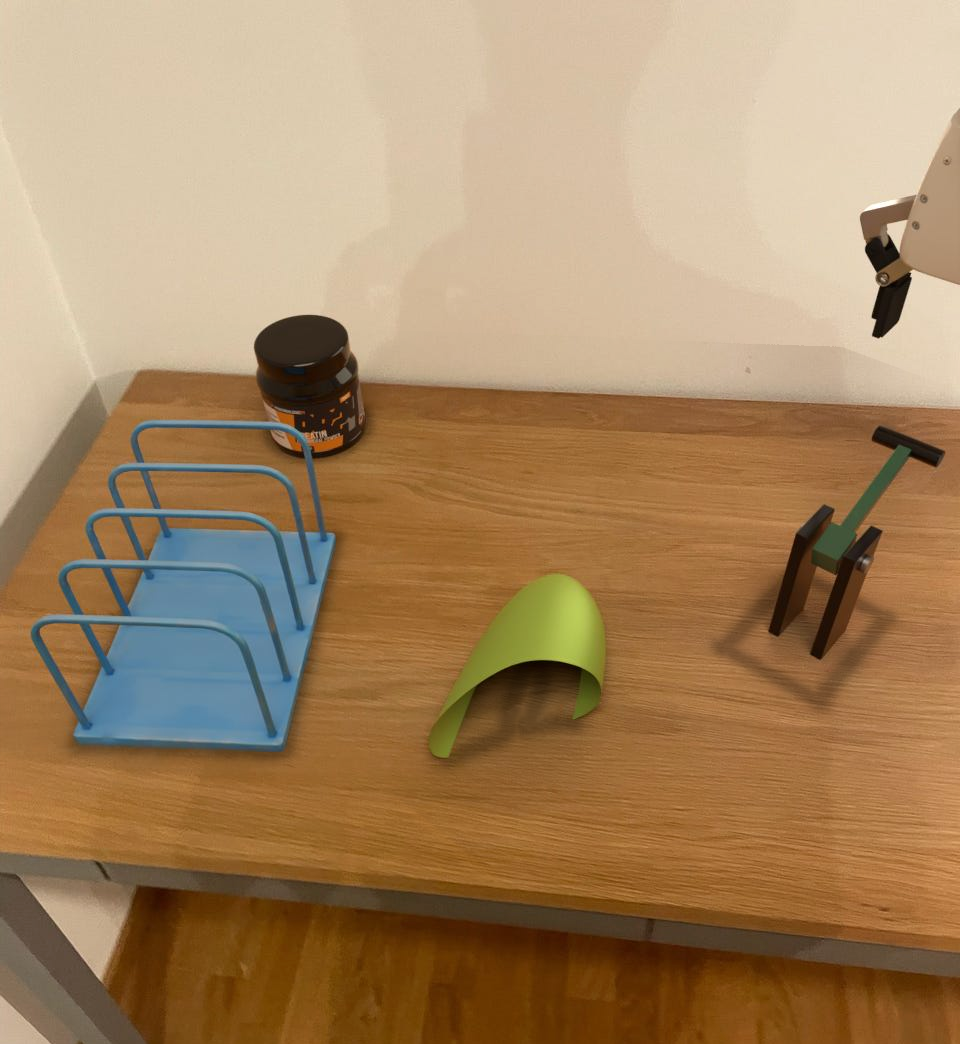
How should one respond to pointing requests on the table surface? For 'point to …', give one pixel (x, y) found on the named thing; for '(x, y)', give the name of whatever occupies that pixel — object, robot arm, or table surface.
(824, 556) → the lever
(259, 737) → the file sorter
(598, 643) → the curved green shell
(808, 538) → the bracket
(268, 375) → the supplement container
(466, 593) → the table surface
